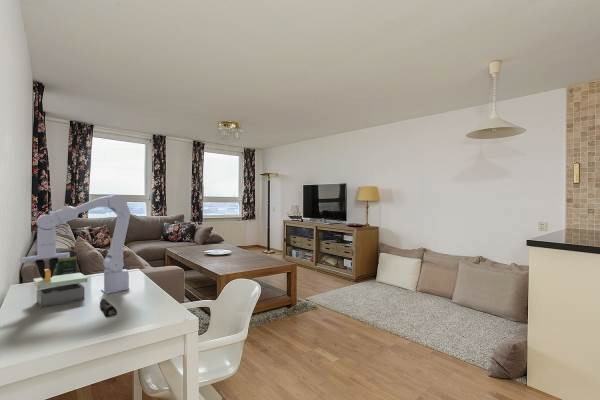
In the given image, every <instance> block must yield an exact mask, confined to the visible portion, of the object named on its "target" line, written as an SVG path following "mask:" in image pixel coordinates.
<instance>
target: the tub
mask: <svg viewBox="0 0 600 400" xmlns="http://www.w3.org/2000/svg"><path fill="white" fill-rule="evenodd" d="M80 300H81V301H82V300H85V286H84V285H82V283H76V284H70V285H63V286H56V287H50V288H43V289H36V303H37V305H38V306H39V307H40V309H43V308H48V307H52V306H57V305H62V304H67V303H71V302H78V301H80Z"/></svg>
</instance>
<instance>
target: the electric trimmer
mask: <svg viewBox="0 0 600 400" xmlns="http://www.w3.org/2000/svg"><path fill="white" fill-rule="evenodd" d="M99 307H100V309H101V310H102V311H104V315H105V317H106V318H107V317H108V318H109V317H113V316H116V315H117V314H118V310H117V309H116V307H115V306H114V305H113V304H111V303H110V302H109V301H108V300H107V299H106V298H101V300H100V302H99Z"/></svg>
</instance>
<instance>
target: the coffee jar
mask: <svg viewBox="0 0 600 400" xmlns="http://www.w3.org/2000/svg"><path fill="white" fill-rule="evenodd" d="M67 252H69V253H70V257H69V258H58V260H59V261H58V263H57V265H56V267H55V269H54V276H58V275H66V274H74V273H78V272H77V270H78V268H77V263H78V262H77V260H78V259H77V251H76V250H75V249H71V248H70V247H69V248H68V247H66V248H59V249H58V250H56V253H67Z"/></svg>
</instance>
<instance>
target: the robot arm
mask: <svg viewBox="0 0 600 400" xmlns="http://www.w3.org/2000/svg"><path fill="white" fill-rule="evenodd" d="M96 208H108V209H110V210H111V211H113V213H114V214H115V215H116V222H115V224H114V225H115V226H114V230H113V234H112V238H111V239H112V240H111V243H110V246H109V247H110V248H109V250H108V251H107V254H106V256H105V257H104V259H103V261H102V264H103V267H104V270H103V284H104V285H103V288H100V289H101V292H103V293H104V294H105V295H108V294H112V293H116V292H121V291H127V290H130V284H129V283H130V274H129V270H128V269H126V268H124V266H125V262H124V252H123V251H124V246H125V241H126V236H127V233H128V228H129V223H130V218H131V210H130V209H129V208H130V207H129V206H128V202H127V200H126V199H125V197H123V196H122V195H120V194H108V195H105V196H101V197H97V198H95V199H92V200H90V201H87V202H84V203H81V204H80V205H79V204H78V205H76V206H71V205H68V206H67V205H64V206H62V207H61V208H60V209H57V210H53V211H52V210H51V211H48V214H45V213H44V214H42V215H40V216H38V217H37V219H36V221H35V223H36V226H37V234H36V235H37V237H36V239H37V240H36V242H37V244H36V245H37V246H36V247H37V248H36V249H37V255H30V256H23V257H22V258H21V262H22V264H27V263H33V262H34V263H35V265H36V267H37V268H38V271H39V272H40V275H41V278H42V279H45V271H44V269H46V268H45V265H46V262H45V261H48V267H49V268H48V269H49V270H50V271H51V278H52V276H54V275H53V274H54V272H55V267H56V265H57V263H58V261H59V260H58V258H69V257H70V253H69V252H67V253H56V251H57V236H56V235H57V233H56V226H57V225H62V224H64V223H67V222H69V221H72V220H74V219H77V218H78V216H79V214H81V213H85V212H87V211H91V210H93V209H96ZM123 268H124V269H123Z"/></svg>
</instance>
